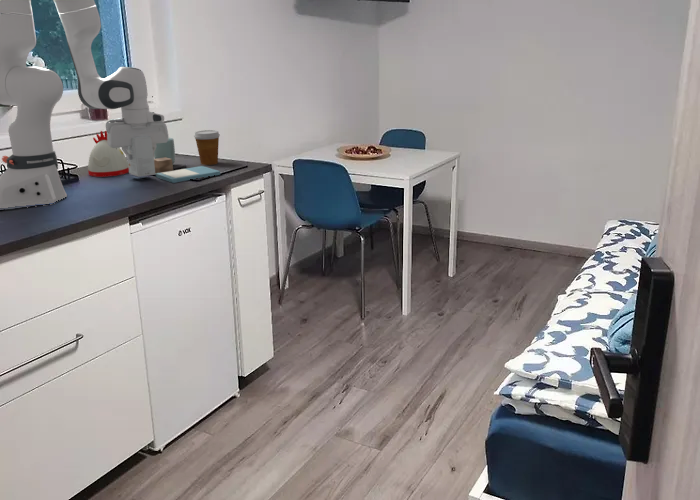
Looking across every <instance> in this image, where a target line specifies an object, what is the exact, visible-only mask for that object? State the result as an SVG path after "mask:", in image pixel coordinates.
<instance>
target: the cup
mask: <svg viewBox="0 0 700 500" xmlns="http://www.w3.org/2000/svg"><path fill="white" fill-rule="evenodd" d="M156 146H157V147H156V149H155V151H154V159H158V158H165V157H166V158H169V159H172V165H174V164H175V161H176V148H175V140H174V138H173V137H169V139H168V141H167V142H166V143H157V144H156Z"/></svg>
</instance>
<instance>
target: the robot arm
mask: <svg viewBox="0 0 700 500" xmlns="http://www.w3.org/2000/svg"><path fill="white" fill-rule="evenodd" d="M53 2H54V4H55V7H56V10H57V13H58V15H59V18H60V22H61V24H62V27H63V29H64V32H65V33H64V34H65V37H66V42H67V46H68V50H69V54H70V57H71V61H72V64H73V67H74V69H75V74H76V77H77V93H78V94H77V95H78V97H79V99H80V101H81V103H82V104H83V105H84V106H85V107H87V108H89V109H92V110H99V109H100V110H101V109H103V110H117V109H120V110H121V118H115V119H114V118H111V119H109V120H108V121H107V122H106V123H105V129H106V130H105V131H106V132H107V143H108V145H109V146H110V147H111V148H120V149H121V150H122V152H123V153H124V155H125V157H126V159H127V161H128V160H132V159H133V158H132V154H129V153H128V151H127V150H128V147H129V146H132V138H134V137H142V136H150V137H152V145H153V155H154V151H155V149H156V147H157V146H156V144H157V143H166V142H167V141H168V139H169V138H170V136H169V131H168V127H167V124H166V123H165V122H164V121H165V116H164V115H163V114H159V113H155V112H154V111H150V105H149V103H148V86H147V81H146V77H145V73H144V72H143V70H141V69H139V68H136V67H129V66H119V68H118V69H117V70H116V71H115V72H113V73H112V74H111V75H108V76H106V77H105V78H103V77H101V76H100V75H99V73H98V71H97V66H96V64H95V60H94V56H93V53H92V43H93V41H94V40H95V39H96V37H97V36H98V35H99V33H100V31H101V28H102V25H101V24H102V23H101V18H100V13H99V10H98V7H97V5H96V3H95V2H96V1H95V0H53ZM33 14H34V13H33V8H32V0H0V105H2V106H16V107H17V110H16V111H17V112H16V117H15V120H14V121H13V122H12V123H11V124H10V125H9V126H8V130H7V131H8V136H9V141H10V145H11V152H12V154H11V155H9V156H7V155H3V156H2V157H1V161H2V162H3V163H5V164H6V165H7V166H6V167H7V169H6V170H4V172H2V174H1V175H0V208H8V207H15V206H26V205H35V204H49V203H54V202H56V201H57V202H59V201H62V200H63V198H64V199H65V197H66V198H67V197H68V194H67V192H66V191H65V188H64V186H63V183H62V180H61V177H60V174H59V162H58V157H57V154H56V151H55V150H54V146H53V139H52V132H51V121H52V120H51V119H52V115H53V110H54V108H55V106H56V104H57V103H59V101H60V100H61V99H62V97H63V93H64V84H63V81H62V79H61V77H60V76H59V74H58V73H57V72H55V71H54V70H51V69H47V68H45V67H44V68H43V67H40V66H27V61H28V60H27V59H28V57H29V54H30V52H31V51H32V50H33V49H34V48H35V47H36V44H37V36H36V28H35V22H34V21H35V20H34V15H33ZM61 199H62V200H61ZM58 200H59V201H58ZM57 202H56V203H57ZM54 204H55V203H54Z"/></svg>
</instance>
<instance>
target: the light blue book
mask: <svg viewBox="0 0 700 500" xmlns="http://www.w3.org/2000/svg"><path fill="white" fill-rule="evenodd" d="M214 175H215V176H220V175H221V171H220V170H217V169H214V168H210V167H207V166H205V165H200V166H199V165H198V166H193V167H188V168H181V169H175V170H174V169H173V171H168V172H162V173H155V178H158V179H161V180H164V181H166V182H168V183H169V182H170V183H172V184H175V183H179V182H185V181H191V180H190V179H193V180H197V179H196V178H198V179H201V178H200V177H204V178H208V176H210V177H214Z"/></svg>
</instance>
